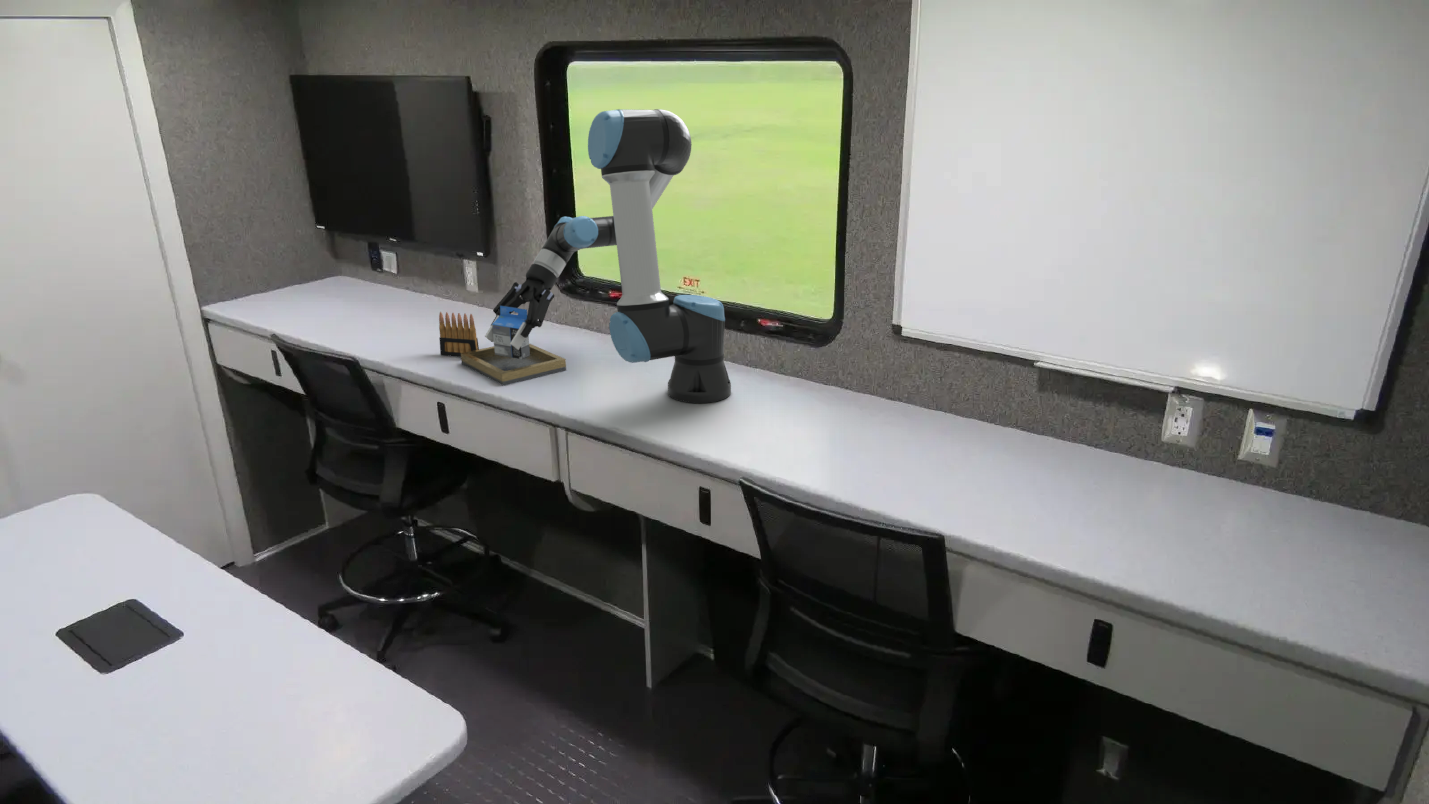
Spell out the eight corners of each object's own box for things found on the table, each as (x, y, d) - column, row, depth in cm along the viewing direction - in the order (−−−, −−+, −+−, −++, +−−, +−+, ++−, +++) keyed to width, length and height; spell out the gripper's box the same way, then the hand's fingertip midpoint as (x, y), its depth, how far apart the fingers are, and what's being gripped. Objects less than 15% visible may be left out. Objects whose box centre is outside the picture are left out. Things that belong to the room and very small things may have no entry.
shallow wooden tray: (566, 370, 219) (565, 359, 218) (503, 385, 208) (502, 374, 206) (522, 350, 234) (521, 340, 233) (461, 364, 223) (460, 353, 222)
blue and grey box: (493, 355, 220) (489, 308, 216) (503, 351, 223) (499, 305, 219) (521, 360, 216) (517, 312, 212) (531, 355, 220) (527, 309, 215)
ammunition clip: (480, 356, 229) (475, 313, 225) (476, 358, 228) (472, 314, 223) (443, 353, 232) (439, 310, 227) (440, 355, 230) (435, 312, 226)
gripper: (582, 285, 219) (539, 359, 213) (526, 273, 231) (483, 342, 225) (565, 268, 213) (520, 343, 207) (509, 256, 225) (464, 327, 220)
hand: (501, 343), depth 216 cm, fingers closed on blue and grey box, 9 cm apart
